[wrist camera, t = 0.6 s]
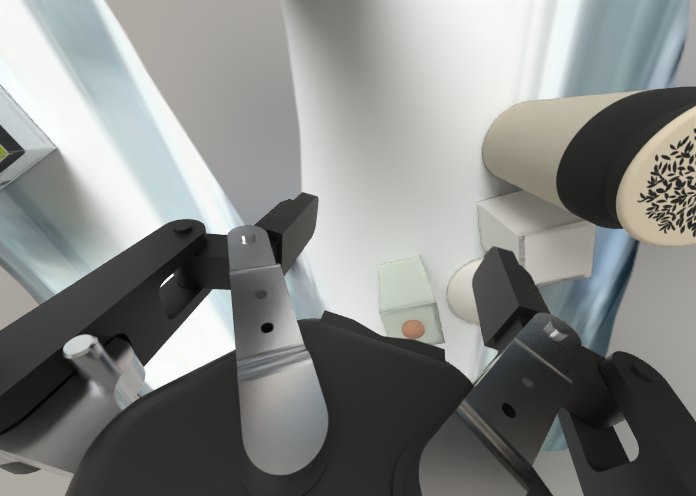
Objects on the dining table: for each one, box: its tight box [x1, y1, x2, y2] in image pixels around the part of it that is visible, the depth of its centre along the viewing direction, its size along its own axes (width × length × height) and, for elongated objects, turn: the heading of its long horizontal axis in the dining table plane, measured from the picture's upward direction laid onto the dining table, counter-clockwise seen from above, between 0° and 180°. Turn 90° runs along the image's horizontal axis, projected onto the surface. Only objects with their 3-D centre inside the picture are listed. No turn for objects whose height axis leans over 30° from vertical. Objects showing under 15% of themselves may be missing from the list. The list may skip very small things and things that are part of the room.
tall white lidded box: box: [477, 190, 596, 287], centre depth 28 cm, size 6×6×10 cm
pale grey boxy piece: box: [377, 256, 445, 345], centre depth 33 cm, size 6×6×10 cm
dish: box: [447, 257, 484, 324], centre depth 36 cm, size 11×11×1 cm
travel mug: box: [482, 87, 696, 247], centre depth 20 cm, size 8×8×18 cm
